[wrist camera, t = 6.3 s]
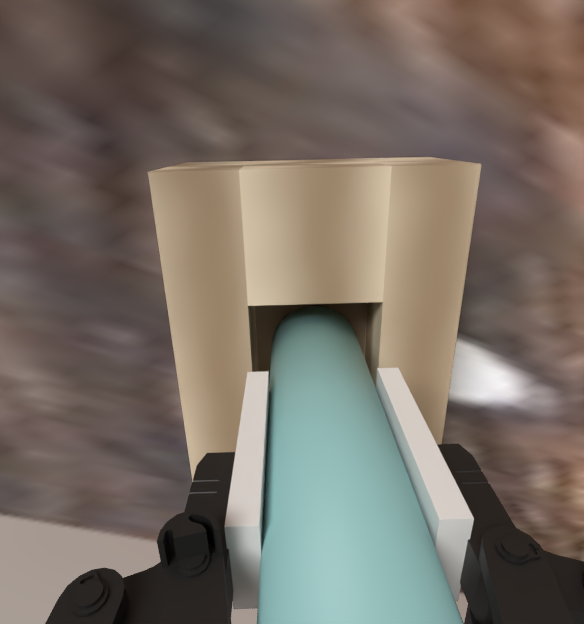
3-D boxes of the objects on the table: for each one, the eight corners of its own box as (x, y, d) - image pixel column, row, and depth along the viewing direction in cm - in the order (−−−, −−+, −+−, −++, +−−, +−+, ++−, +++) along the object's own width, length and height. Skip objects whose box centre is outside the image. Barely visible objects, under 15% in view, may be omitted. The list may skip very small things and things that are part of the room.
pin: (273, 383, 21) (257, 801, 8) (269, 307, 19) (242, 667, 6) (355, 381, 21) (478, 792, 8) (358, 305, 19) (518, 657, 6)
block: (213, 429, 27) (196, 506, 21) (183, 162, 21) (147, 172, 15) (402, 423, 27) (433, 498, 21) (428, 156, 21) (481, 164, 15)
